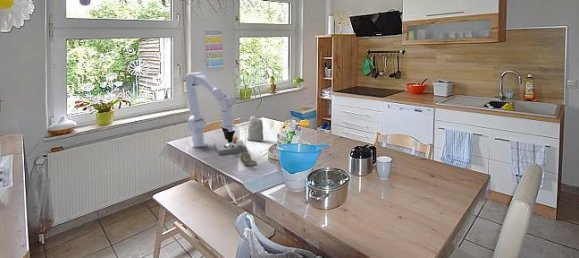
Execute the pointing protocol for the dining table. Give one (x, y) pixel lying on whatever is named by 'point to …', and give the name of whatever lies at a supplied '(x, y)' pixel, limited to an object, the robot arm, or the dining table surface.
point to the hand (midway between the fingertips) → (228, 140)
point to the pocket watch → (247, 157)
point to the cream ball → (239, 142)
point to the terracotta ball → (235, 139)
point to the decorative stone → (255, 129)
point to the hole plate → (222, 150)
